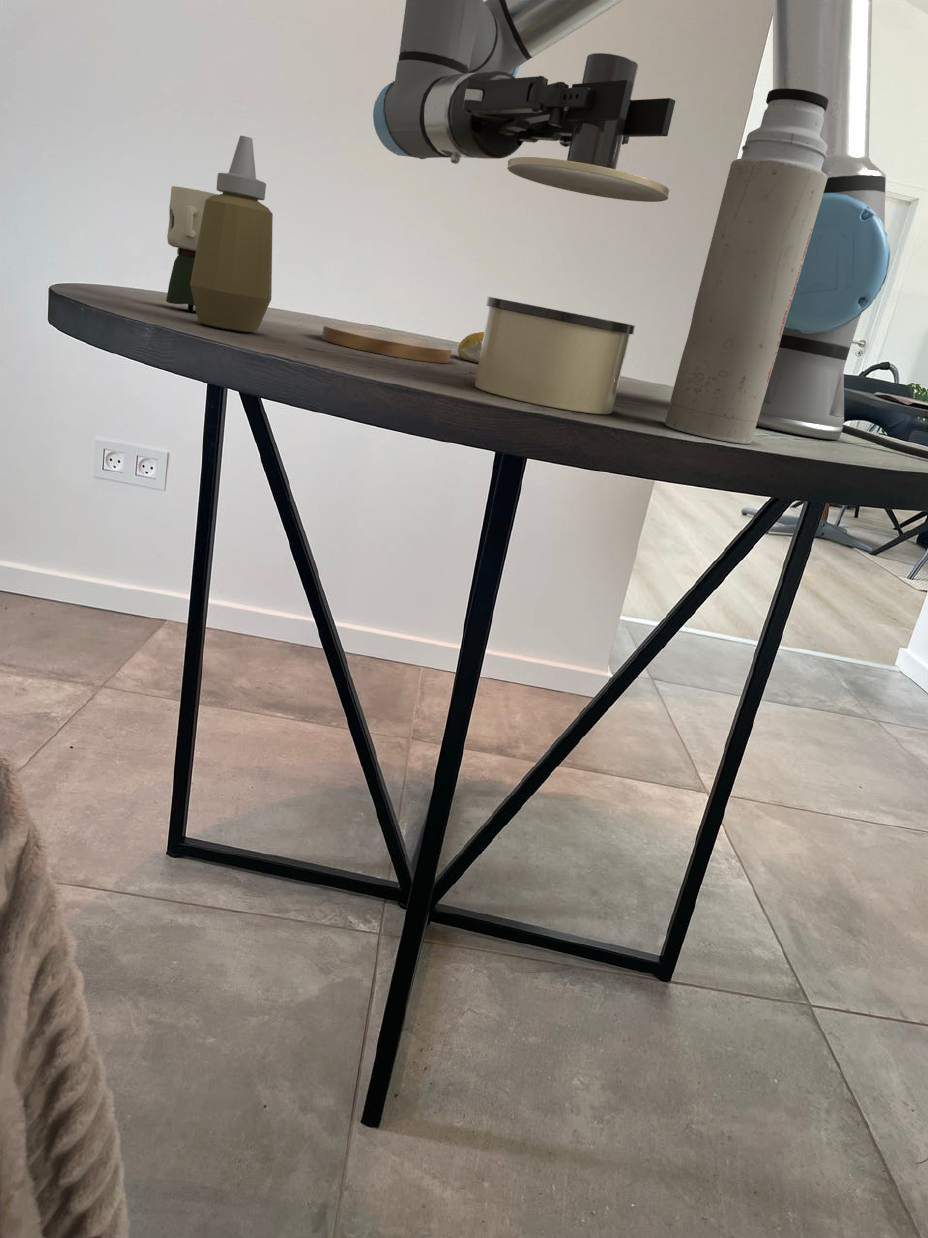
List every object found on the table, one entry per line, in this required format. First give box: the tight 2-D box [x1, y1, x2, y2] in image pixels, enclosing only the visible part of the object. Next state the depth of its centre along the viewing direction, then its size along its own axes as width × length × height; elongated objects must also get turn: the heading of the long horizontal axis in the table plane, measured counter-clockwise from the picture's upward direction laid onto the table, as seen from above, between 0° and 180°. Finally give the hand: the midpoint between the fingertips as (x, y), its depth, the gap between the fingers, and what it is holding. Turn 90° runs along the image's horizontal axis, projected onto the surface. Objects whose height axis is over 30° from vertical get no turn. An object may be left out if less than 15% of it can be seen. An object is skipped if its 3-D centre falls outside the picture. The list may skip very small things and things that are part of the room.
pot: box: [474, 296, 637, 415], centre depth 86 cm, size 14×14×8 cm
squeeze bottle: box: [190, 135, 274, 334], centre depth 93 cm, size 8×8×18 cm
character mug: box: [165, 185, 219, 313], centre depth 107 cm, size 11×7×13 cm, turn 178°
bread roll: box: [457, 331, 484, 364], centre depth 119 cm, size 8×9×4 cm
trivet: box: [321, 324, 452, 364], centre depth 108 cm, size 15×15×2 cm
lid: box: [506, 52, 671, 203], centre depth 80 cm, size 14×14×10 cm
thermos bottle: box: [664, 88, 829, 445], centre depth 80 cm, size 8×8×28 cm
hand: (647, 108), depth 76 cm, fingers closed on lid, 4 cm apart
